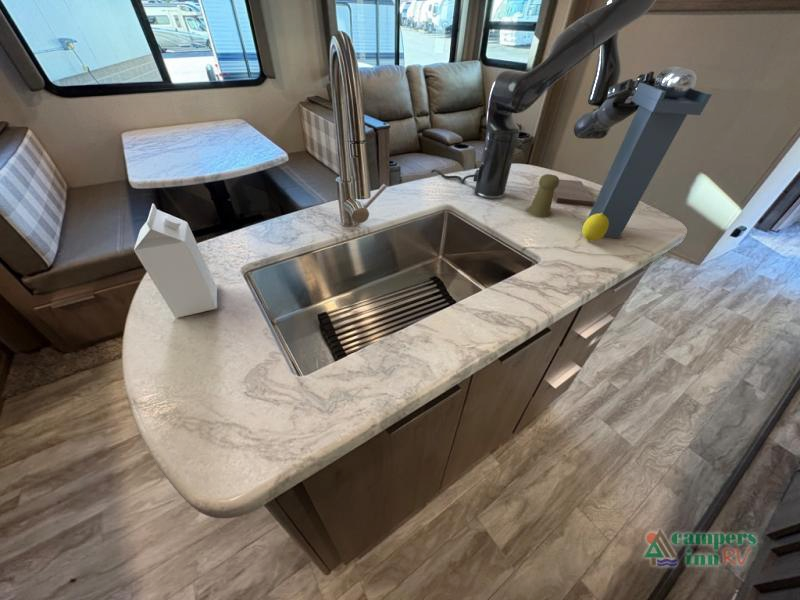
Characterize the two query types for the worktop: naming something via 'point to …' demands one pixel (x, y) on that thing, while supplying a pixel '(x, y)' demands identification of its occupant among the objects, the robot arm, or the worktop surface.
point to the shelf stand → (643, 151)
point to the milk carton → (176, 264)
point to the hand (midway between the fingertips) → (658, 76)
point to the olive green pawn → (544, 196)
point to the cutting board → (572, 193)
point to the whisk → (674, 81)
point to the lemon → (595, 227)
